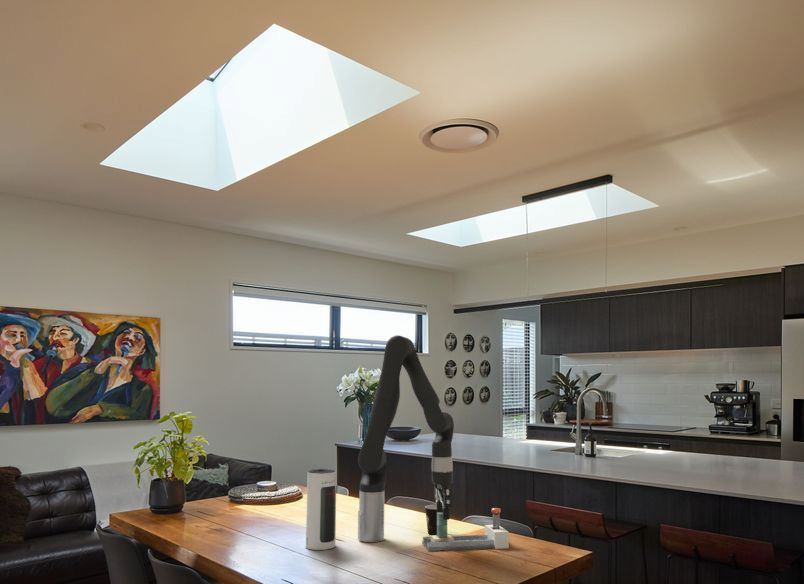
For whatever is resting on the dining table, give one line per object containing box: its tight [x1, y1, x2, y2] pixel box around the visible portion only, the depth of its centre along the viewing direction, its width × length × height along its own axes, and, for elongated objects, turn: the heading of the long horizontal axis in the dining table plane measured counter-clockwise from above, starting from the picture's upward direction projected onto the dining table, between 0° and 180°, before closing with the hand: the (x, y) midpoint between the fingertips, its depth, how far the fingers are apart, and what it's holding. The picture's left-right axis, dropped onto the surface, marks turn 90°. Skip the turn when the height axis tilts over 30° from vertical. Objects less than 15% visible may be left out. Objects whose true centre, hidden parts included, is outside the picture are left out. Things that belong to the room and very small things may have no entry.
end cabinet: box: [484, 524, 510, 550], centre depth 220 cm, size 5×11×6 cm, turn 11°
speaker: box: [305, 468, 337, 551], centre depth 217 cm, size 11×10×26 cm
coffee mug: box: [424, 504, 437, 536], centre depth 236 cm, size 12×9×10 cm
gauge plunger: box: [491, 507, 501, 530], centre depth 221 cm, size 3×3×9 cm
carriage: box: [431, 512, 454, 542], centre depth 217 cm, size 7×5×10 cm
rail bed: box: [421, 533, 495, 552], centre depth 218 cm, size 27×10×3 cm, turn 101°
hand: (443, 516), depth 218 cm, fingers open, 8 cm apart
